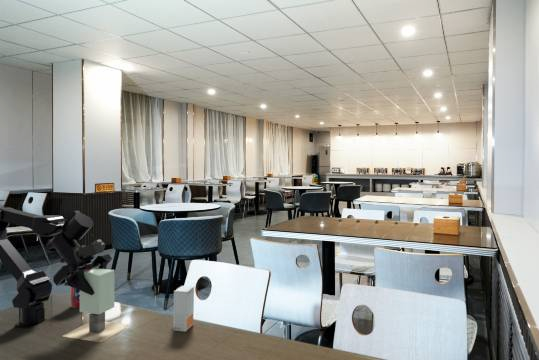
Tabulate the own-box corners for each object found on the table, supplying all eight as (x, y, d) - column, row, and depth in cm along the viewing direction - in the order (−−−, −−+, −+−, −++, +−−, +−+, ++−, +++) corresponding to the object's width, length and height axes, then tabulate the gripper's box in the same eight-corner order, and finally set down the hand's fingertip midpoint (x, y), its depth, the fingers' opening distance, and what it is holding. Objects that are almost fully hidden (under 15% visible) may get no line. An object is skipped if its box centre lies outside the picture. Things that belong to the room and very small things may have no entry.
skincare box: (186, 332, 120) (186, 292, 120) (172, 330, 121) (173, 291, 121) (194, 324, 126) (194, 286, 126) (181, 323, 127) (181, 285, 127)
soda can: (80, 301, 146) (80, 260, 146) (99, 303, 144) (99, 261, 144) (65, 309, 138) (65, 265, 138) (85, 310, 137) (85, 266, 136)
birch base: (61, 339, 114) (61, 318, 113) (93, 323, 126) (93, 303, 126) (101, 345, 110) (101, 324, 110) (130, 328, 123) (130, 308, 122)
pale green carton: (79, 311, 116) (79, 273, 115) (95, 304, 122) (95, 268, 122) (99, 314, 114) (99, 275, 113) (114, 306, 120) (114, 270, 120)
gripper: (61, 237, 109) (96, 281, 107) (107, 227, 127) (137, 265, 125) (38, 263, 112) (71, 307, 109) (86, 251, 130) (115, 288, 127)
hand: (101, 290), depth 117 cm, fingers closed on pale green carton, 7 cm apart
